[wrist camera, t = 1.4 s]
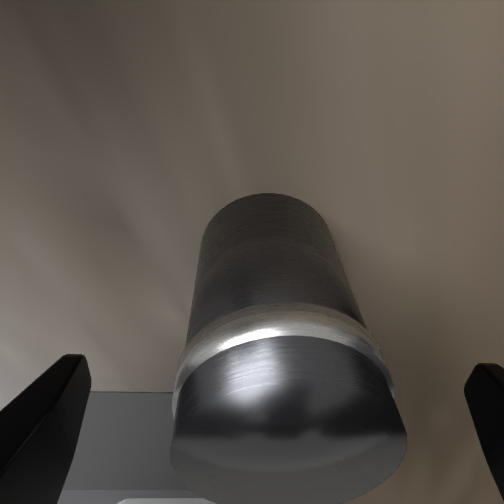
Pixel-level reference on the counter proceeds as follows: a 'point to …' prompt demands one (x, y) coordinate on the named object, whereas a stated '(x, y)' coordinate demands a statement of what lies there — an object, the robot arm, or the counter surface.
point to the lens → (279, 367)
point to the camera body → (126, 453)
